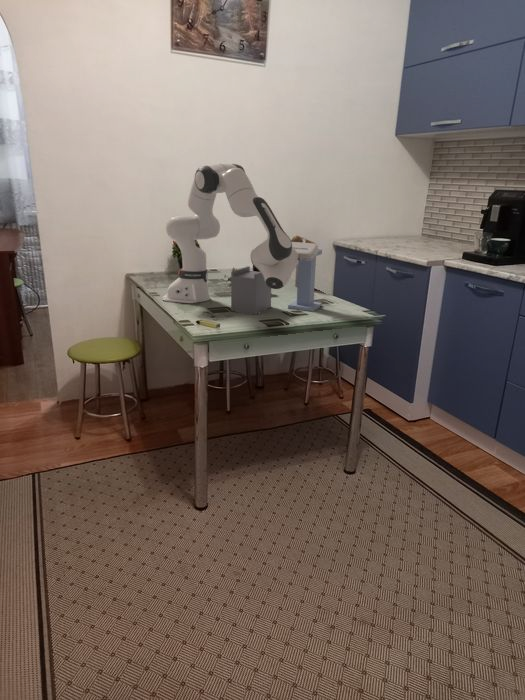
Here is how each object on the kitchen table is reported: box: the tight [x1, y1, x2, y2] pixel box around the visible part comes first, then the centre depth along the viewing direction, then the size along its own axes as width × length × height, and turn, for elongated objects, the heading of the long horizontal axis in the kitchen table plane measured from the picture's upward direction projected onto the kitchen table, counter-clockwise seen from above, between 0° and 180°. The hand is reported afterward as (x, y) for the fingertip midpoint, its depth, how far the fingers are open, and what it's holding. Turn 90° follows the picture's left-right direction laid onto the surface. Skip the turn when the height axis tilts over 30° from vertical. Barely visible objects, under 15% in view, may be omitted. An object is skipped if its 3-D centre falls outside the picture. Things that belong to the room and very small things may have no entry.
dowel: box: [293, 235, 317, 244], centre depth 219 cm, size 22×3×3 cm, turn 155°
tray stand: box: [230, 265, 272, 315], centre depth 224 cm, size 16×12×18 cm
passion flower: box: [224, 267, 238, 286], centre depth 274 cm, size 11×11×12 cm
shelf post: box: [287, 248, 323, 312], centre depth 227 cm, size 12×12×27 cm
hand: (299, 238), depth 212 cm, fingers closed on dowel, 3 cm apart
